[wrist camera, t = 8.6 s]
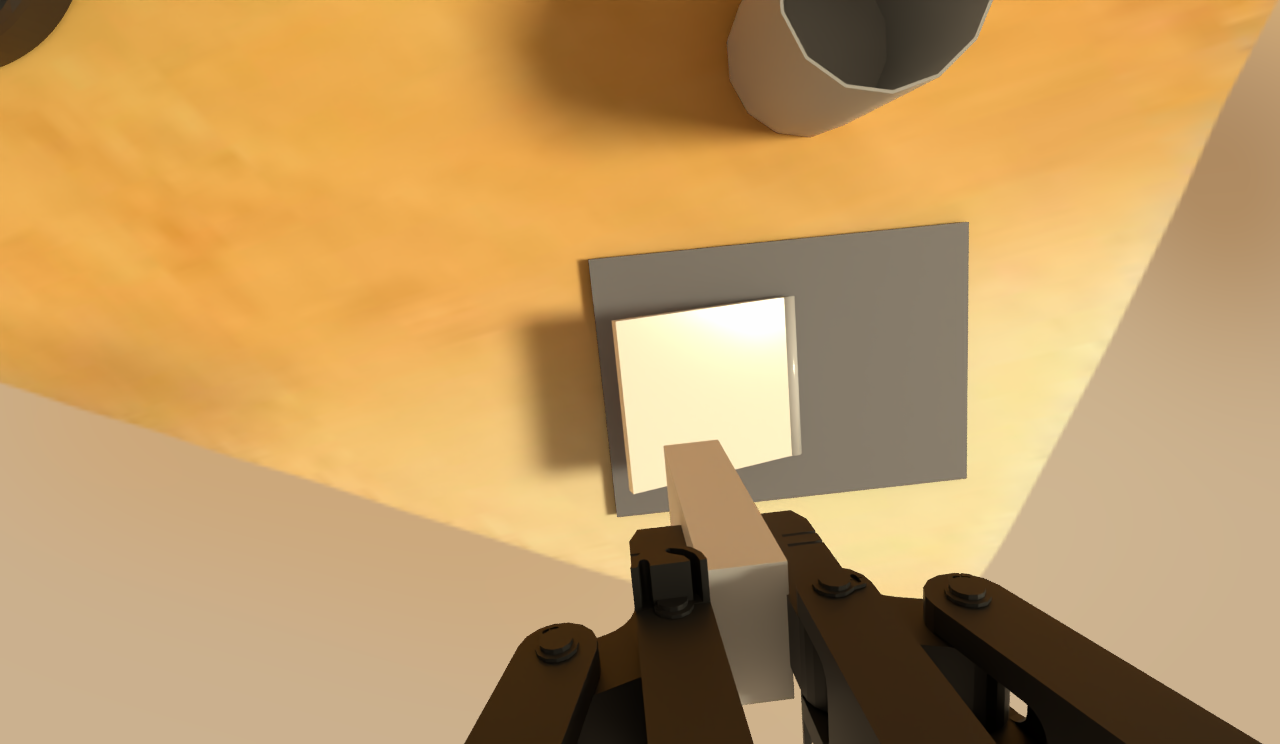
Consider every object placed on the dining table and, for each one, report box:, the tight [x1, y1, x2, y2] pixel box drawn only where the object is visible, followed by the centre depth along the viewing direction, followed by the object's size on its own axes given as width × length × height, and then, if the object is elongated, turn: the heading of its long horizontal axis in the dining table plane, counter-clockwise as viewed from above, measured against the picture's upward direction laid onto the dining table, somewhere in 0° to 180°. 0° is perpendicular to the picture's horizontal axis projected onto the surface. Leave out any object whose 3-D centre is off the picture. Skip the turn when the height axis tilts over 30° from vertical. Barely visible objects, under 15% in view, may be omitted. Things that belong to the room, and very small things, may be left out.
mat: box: [589, 222, 969, 517], centre depth 36 cm, size 15×21×1 cm
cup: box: [727, 0, 993, 137], centre depth 28 cm, size 8×8×10 cm
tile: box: [612, 295, 802, 494], centre depth 34 cm, size 10×9×1 cm
